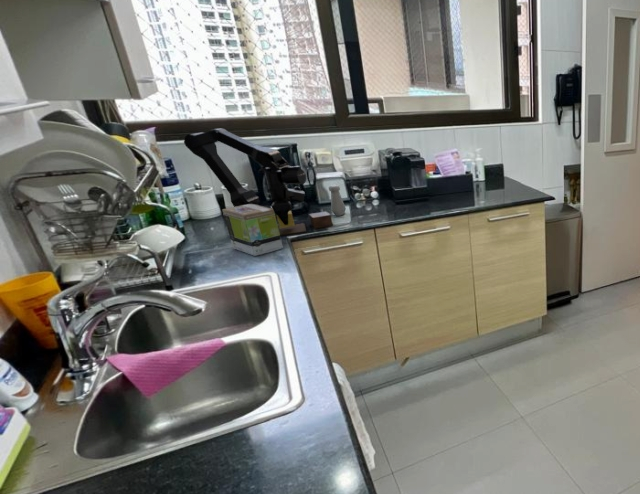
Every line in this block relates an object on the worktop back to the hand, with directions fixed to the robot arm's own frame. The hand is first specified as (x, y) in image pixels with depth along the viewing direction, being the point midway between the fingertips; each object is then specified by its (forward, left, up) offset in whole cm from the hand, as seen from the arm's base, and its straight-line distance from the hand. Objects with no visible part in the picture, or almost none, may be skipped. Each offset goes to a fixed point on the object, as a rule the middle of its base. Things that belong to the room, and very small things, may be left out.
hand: (286, 223), depth 183 cm
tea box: (-10, -18, -3) cm, 21 cm away
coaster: (0, 0, -3) cm, 3 cm away
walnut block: (+12, +1, -3) cm, 13 cm away
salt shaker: (+20, +14, -3) cm, 25 cm away
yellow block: (0, 0, -1) cm, 1 cm away
